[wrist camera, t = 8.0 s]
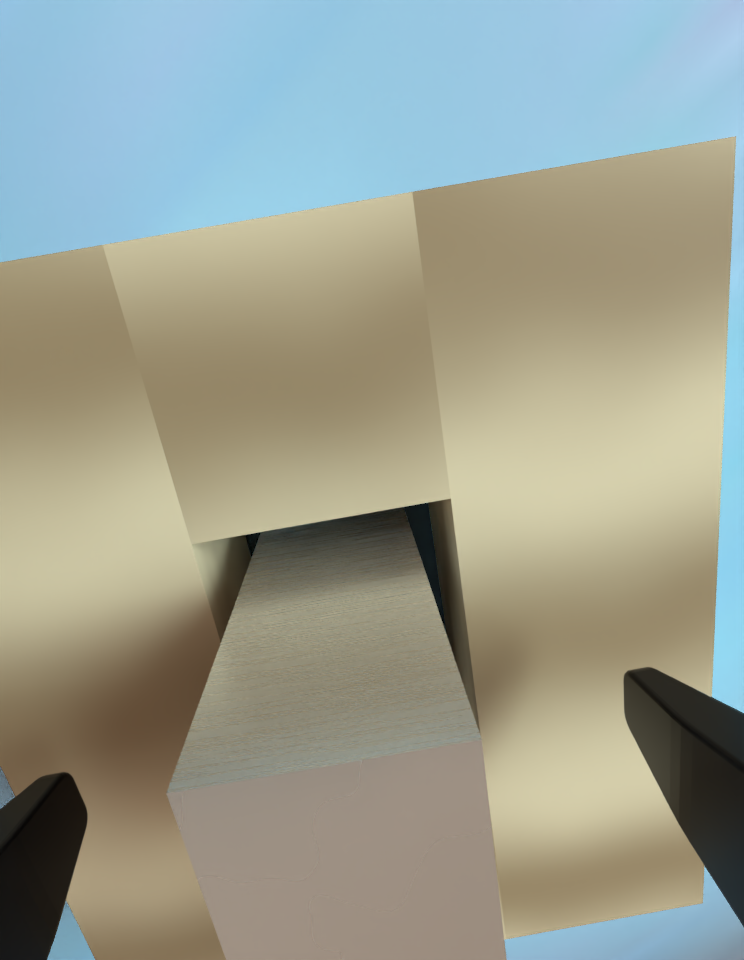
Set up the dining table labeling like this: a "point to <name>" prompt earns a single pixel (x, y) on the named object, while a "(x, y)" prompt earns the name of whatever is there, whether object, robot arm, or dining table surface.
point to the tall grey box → (339, 761)
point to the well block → (376, 500)
